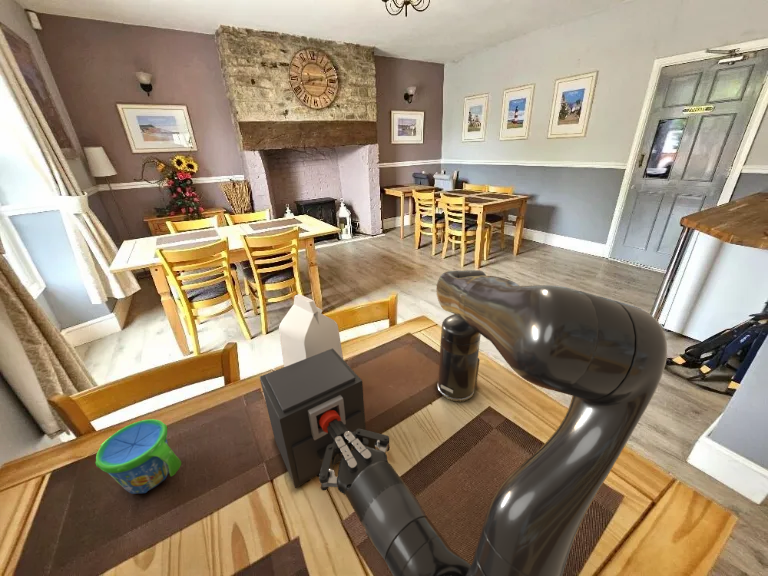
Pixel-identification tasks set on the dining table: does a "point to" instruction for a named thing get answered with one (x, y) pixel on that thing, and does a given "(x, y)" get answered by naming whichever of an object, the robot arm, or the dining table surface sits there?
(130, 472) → the snack cup
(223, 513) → the dining table surface
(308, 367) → the dark grey button box
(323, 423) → the power button
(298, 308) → the milk
